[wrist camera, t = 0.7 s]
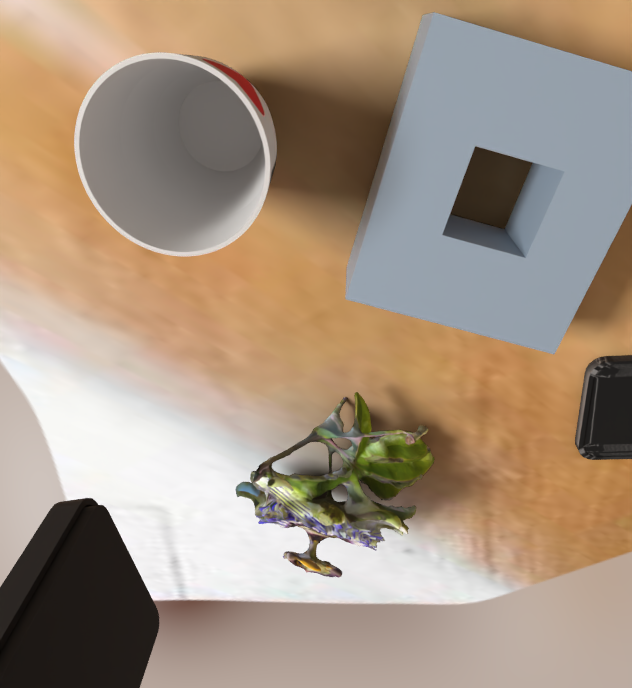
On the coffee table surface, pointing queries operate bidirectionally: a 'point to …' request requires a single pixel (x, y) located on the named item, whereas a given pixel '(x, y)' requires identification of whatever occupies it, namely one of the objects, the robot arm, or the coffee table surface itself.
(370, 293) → the hole block
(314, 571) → the passion flower
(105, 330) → the coffee table surface
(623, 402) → the phone
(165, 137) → the cup
